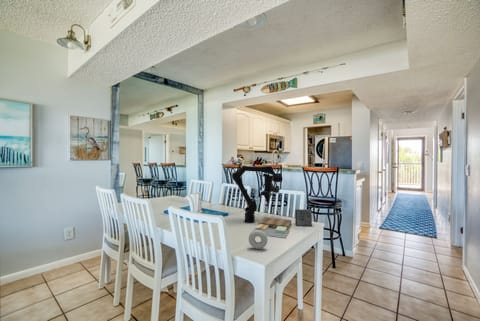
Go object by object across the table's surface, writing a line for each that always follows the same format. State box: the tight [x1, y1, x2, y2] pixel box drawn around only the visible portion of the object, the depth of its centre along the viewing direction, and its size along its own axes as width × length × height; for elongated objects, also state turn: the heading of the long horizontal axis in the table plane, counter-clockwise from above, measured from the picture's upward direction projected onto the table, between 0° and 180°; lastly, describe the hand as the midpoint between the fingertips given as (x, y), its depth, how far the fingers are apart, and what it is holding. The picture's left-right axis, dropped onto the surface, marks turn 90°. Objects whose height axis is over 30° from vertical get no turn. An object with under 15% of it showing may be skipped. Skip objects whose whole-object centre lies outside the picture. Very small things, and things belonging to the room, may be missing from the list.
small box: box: [294, 208, 313, 227], centre depth 161 cm, size 11×6×10 cm, turn 84°
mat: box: [252, 227, 290, 239], centre depth 145 cm, size 22×14×1 cm, turn 69°
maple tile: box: [255, 224, 269, 231], centre depth 151 cm, size 6×8×2 cm
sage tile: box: [275, 226, 287, 234], centre depth 147 cm, size 6×8×2 cm
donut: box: [248, 229, 269, 250], centre depth 120 cm, size 10×4×10 cm, turn 80°
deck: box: [258, 217, 292, 231], centre depth 159 cm, size 20×14×3 cm
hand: (268, 203), depth 172 cm, fingers closed
